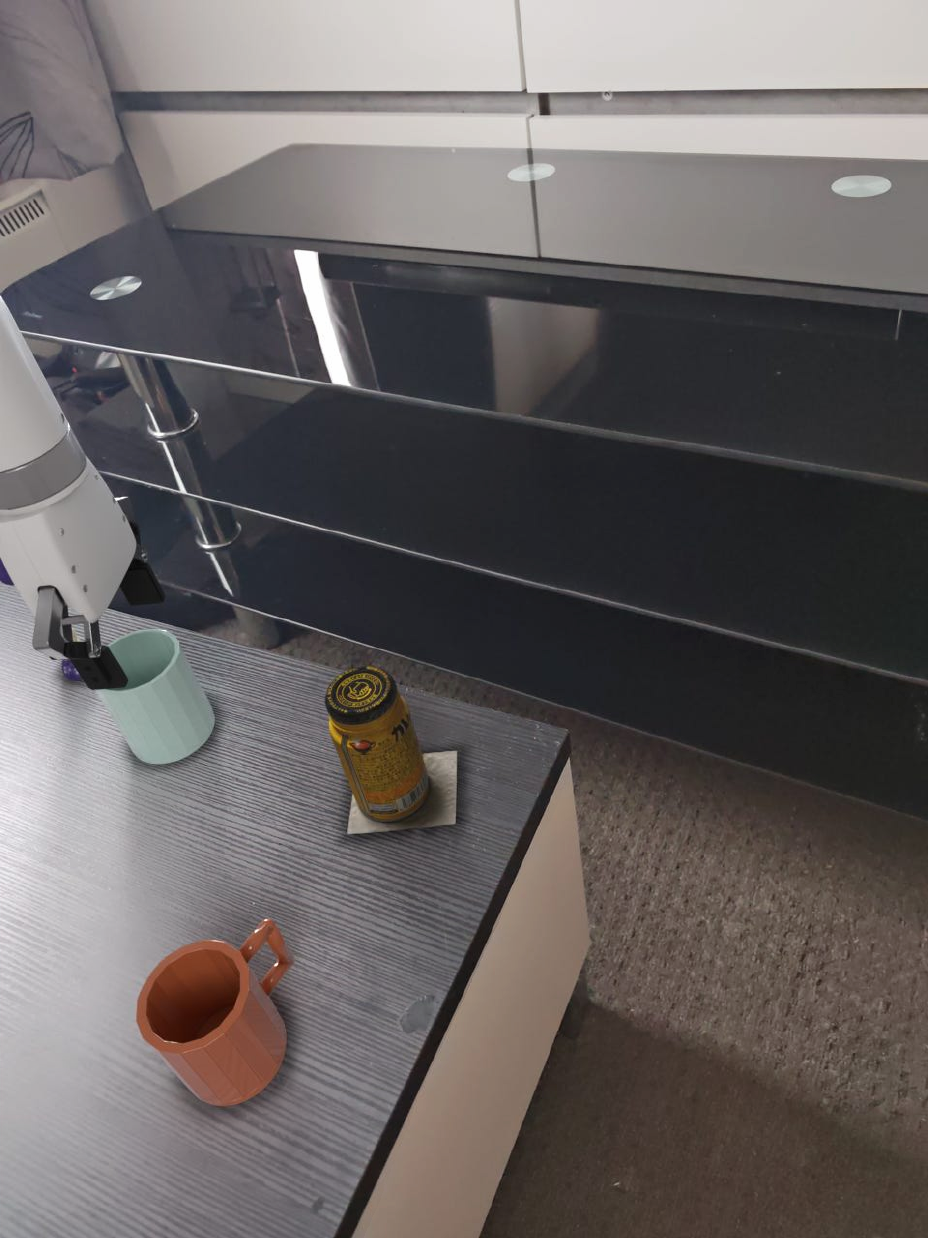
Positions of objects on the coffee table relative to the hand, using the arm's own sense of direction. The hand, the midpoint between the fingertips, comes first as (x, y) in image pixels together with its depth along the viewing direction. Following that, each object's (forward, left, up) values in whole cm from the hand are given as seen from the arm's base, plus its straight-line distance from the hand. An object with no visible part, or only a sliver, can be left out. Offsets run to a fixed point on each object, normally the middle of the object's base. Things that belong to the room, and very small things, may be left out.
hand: (130, 642), depth 75 cm
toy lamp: (-12, +9, -11) cm, 19 cm away
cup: (0, 0, -11) cm, 11 cm away
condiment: (+22, -8, -11) cm, 26 cm away
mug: (+13, -27, -11) cm, 32 cm away
